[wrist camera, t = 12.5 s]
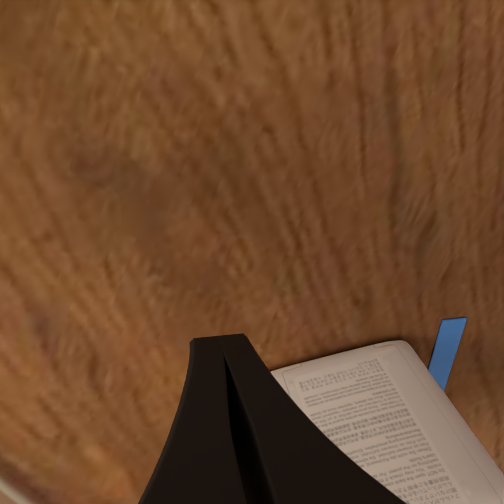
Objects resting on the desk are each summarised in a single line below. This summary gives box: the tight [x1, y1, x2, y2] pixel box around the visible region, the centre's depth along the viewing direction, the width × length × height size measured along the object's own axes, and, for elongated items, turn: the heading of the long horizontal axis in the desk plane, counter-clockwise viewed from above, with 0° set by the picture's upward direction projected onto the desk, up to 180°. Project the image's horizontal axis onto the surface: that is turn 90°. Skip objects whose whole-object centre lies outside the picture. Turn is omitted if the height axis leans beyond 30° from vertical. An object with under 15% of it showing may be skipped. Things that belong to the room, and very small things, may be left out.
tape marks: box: [428, 317, 467, 392], centre depth 27 cm, size 16×8×1 cm, turn 88°
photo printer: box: [271, 340, 504, 504], centre depth 22 cm, size 10×4×12 cm, turn 100°
